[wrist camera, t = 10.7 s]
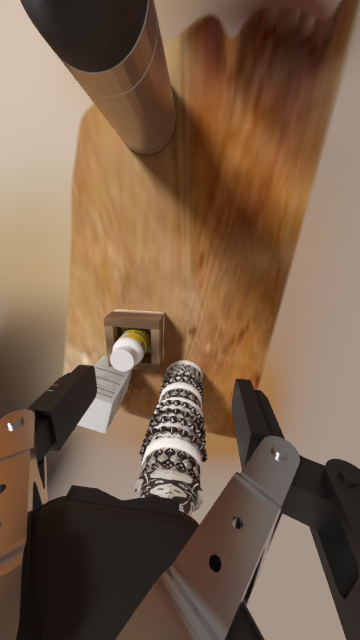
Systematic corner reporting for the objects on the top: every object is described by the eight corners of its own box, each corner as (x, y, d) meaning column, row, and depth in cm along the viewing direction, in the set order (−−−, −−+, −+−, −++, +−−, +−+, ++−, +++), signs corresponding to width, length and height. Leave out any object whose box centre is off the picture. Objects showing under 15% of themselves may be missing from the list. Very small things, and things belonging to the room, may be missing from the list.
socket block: (115, 309, 43) (103, 318, 38) (164, 312, 42) (159, 321, 37) (118, 353, 47) (108, 366, 41) (164, 356, 46) (159, 370, 41)
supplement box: (128, 389, 50) (105, 435, 38) (98, 380, 50) (65, 422, 38) (135, 364, 47) (113, 404, 35) (103, 353, 47) (70, 390, 35)
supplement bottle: (157, 341, 43) (144, 368, 34) (135, 352, 44) (117, 380, 35) (143, 319, 42) (126, 340, 32) (120, 330, 43) (98, 354, 34)
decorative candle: (165, 355, 46) (125, 473, 22) (208, 361, 45) (214, 489, 22) (161, 390, 49) (123, 525, 25) (201, 396, 48) (201, 541, 25)
